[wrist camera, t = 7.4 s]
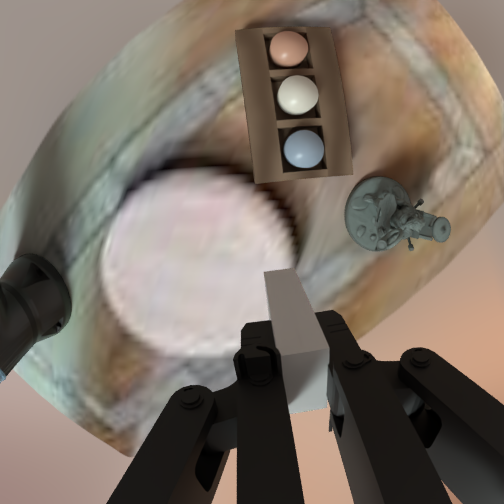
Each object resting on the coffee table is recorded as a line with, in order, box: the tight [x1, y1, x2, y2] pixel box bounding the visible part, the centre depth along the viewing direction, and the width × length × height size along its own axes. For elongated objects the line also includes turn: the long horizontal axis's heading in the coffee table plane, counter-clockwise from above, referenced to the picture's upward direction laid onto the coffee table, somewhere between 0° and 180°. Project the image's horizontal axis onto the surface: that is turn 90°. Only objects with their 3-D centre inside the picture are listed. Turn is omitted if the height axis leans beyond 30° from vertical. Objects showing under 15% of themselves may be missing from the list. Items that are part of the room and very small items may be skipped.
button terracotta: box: [269, 31, 308, 69], centre depth 28 cm, size 4×4×3 cm
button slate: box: [283, 130, 324, 168], centre depth 32 cm, size 4×4×3 cm
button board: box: [235, 27, 353, 184], centre depth 32 cm, size 12×20×4 cm, turn 7°
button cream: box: [277, 75, 318, 115], centre depth 29 cm, size 4×4×3 cm
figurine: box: [345, 177, 451, 251], centre depth 32 cm, size 11×11×12 cm
